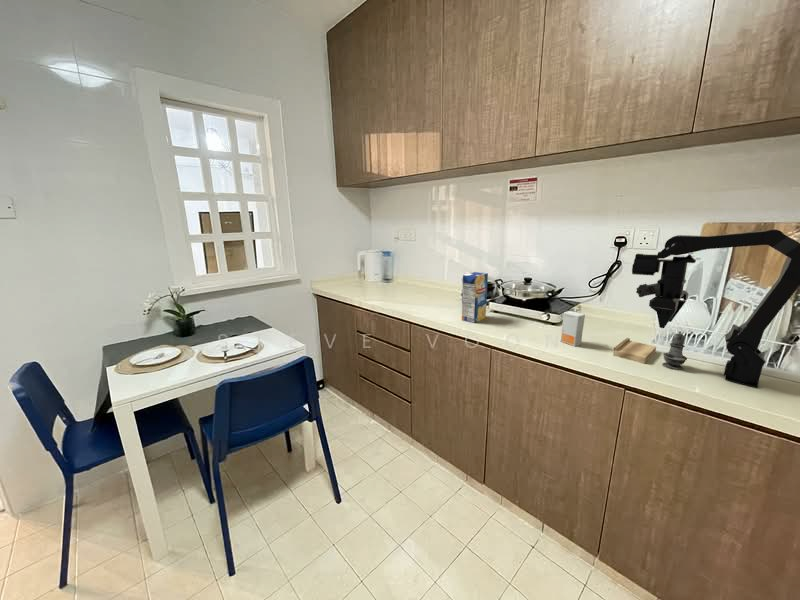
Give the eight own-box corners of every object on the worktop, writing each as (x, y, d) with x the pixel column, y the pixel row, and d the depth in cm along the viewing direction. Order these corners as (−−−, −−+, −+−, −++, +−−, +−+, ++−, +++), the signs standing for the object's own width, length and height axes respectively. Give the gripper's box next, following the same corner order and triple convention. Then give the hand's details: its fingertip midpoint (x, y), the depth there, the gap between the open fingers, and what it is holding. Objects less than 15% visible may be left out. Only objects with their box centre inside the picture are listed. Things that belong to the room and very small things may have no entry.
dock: (655, 351, 112) (656, 344, 111) (644, 363, 103) (645, 355, 103) (625, 344, 119) (626, 337, 118) (612, 355, 110) (614, 347, 109)
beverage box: (461, 320, 151) (462, 275, 146) (473, 315, 159) (475, 272, 154) (474, 323, 147) (476, 276, 141) (485, 317, 154) (488, 273, 149)
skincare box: (559, 341, 123) (563, 312, 120) (566, 339, 125) (570, 310, 122) (574, 346, 118) (578, 316, 115) (581, 344, 120) (585, 314, 117)
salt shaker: (685, 366, 101) (692, 330, 98) (684, 372, 97) (693, 335, 94) (661, 361, 105) (668, 326, 102) (660, 367, 101) (667, 331, 98)
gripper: (649, 271, 110) (643, 314, 113) (632, 278, 98) (626, 325, 102) (692, 273, 101) (684, 320, 105) (678, 281, 90) (670, 333, 93)
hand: (665, 324), depth 101 cm, fingers open, 9 cm apart
